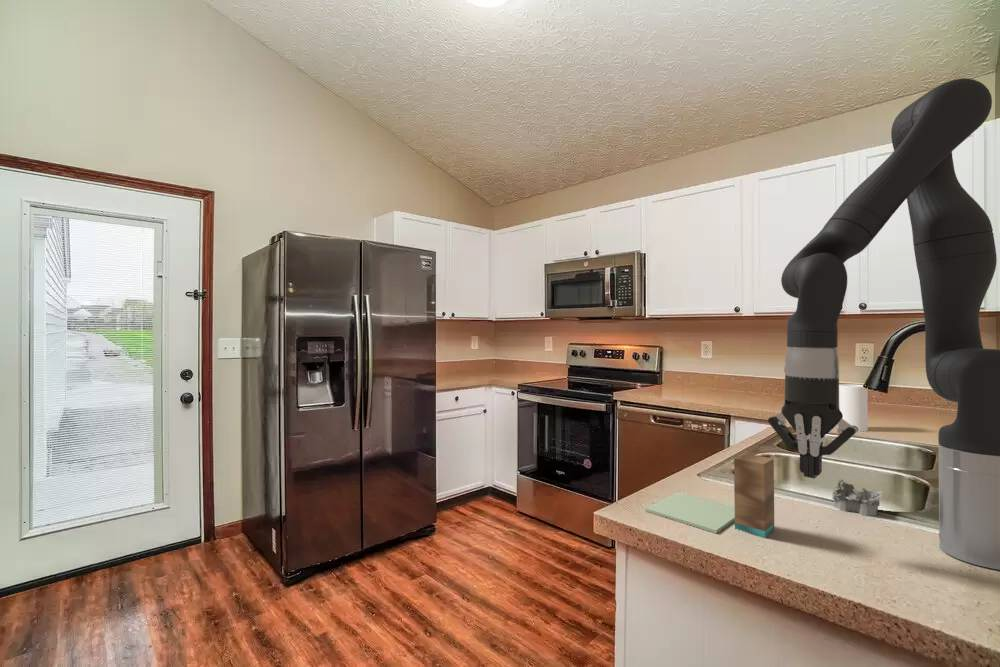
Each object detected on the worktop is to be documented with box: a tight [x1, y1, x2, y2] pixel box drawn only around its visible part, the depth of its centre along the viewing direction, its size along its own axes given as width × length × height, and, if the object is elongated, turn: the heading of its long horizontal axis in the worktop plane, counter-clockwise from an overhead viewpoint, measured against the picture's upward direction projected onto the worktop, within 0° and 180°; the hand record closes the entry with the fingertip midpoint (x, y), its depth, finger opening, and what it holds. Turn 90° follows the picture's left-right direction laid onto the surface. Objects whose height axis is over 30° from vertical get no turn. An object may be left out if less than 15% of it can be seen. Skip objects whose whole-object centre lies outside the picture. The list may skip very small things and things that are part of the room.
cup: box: [839, 383, 869, 432], centre depth 166 cm, size 8×8×16 cm
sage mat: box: [645, 491, 735, 534], centre depth 91 cm, size 14×14×1 cm
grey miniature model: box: [832, 478, 883, 517], centre depth 93 cm, size 11×8×4 cm
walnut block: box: [733, 453, 775, 539], centre depth 83 cm, size 5×5×13 cm
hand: (810, 476), depth 76 cm, fingers closed
